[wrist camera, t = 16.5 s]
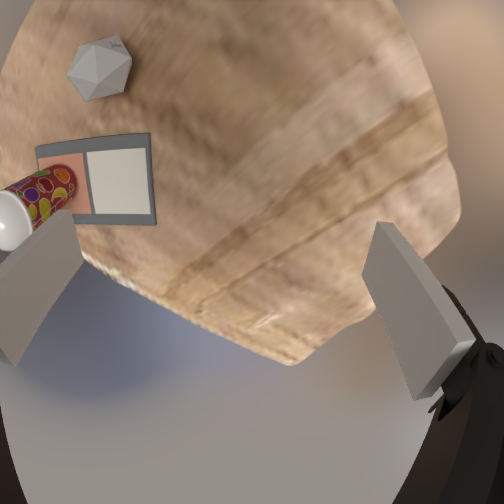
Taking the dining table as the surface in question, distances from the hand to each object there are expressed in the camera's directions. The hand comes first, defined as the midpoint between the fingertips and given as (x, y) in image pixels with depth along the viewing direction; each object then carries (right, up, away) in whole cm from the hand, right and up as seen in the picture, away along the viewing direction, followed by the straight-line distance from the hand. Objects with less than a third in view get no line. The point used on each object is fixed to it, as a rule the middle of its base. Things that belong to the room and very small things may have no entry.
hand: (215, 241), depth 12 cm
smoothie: (-28, +11, +26) cm, 40 cm away
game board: (-23, +10, +28) cm, 37 cm away
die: (-17, +25, +19) cm, 35 cm away
